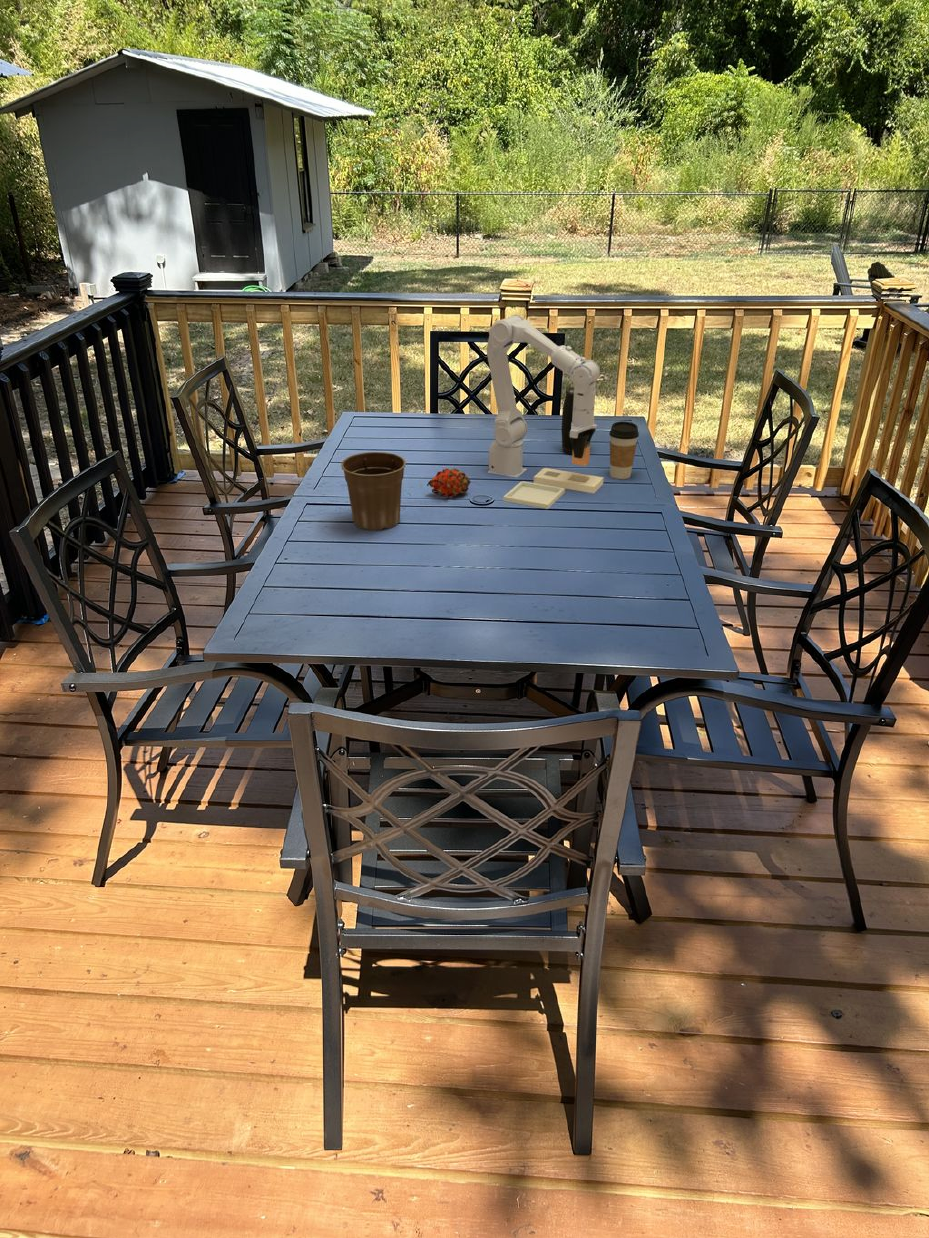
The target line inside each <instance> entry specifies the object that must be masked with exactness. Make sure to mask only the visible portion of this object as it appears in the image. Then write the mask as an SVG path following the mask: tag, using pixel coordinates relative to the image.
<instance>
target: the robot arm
mask: <svg viewBox="0 0 929 1238" xmlns="http://www.w3.org/2000/svg"><path fill="white" fill-rule="evenodd" d="M488 334H489V336H488V340H487V345H486V355H487V362H488V366H489V371H490V376H491V382H492V387H493V393H494V398H495V403H496V404H495V405H496V407H497V408H496V409H497V414H496V416H495V419H494V427H495V428H494V431H493V436H494V437H493V438H494V440H493V441H492V442H491V444H490V446H489V450H488V471H487V473H488V474H489V473H490V474H495V475H500V476H501V475H502V476H506V477H512V478H519V477H520V475H522V474H523V473H524V472H526V471H527V470H528V469H527V468H526V467H523V459H524V458H523V453H524V437H525V436H526V435H527V433H528V430H529V429H528V424H527V422H526V420H525V419H524V416H523V412H522V411H521V410H520V409H518V408H517V402H516V401H517V400H516V397H515V391H514V386H513V385H514V384H513V379H512V375H511V369H510V363H509V358H508V352H509V351H510V349H511V347H512V346H513V344H517V343H527V344H529V345H530V346H532V347H534V348H535V349H537V350H539V351H540V352H541V353H543V354H544V355H546V356H548V357H550V362H551V364H552V365H553V366H555V367H556V368H557V369H559V370H560V371H562V372H564V373H565V374H566V375H568V376H569V377H570V380H571V382H572V383H573V385H574V387H573V388H574V401H573V416H572V423H571V430H570V432H569V433H568V437H569V439H570V441H571V443H572V447H573V453H574V457H575V458H582V457H583V453H584V448H585V444H586V441H588V442H590V443H591V441H592V438H593V435H594V434H595V432H596V428H597V427H598V424H596V423H595V416H594V415H595V402H596V401H595V400H596V387H597V380H598V379H599V378H600V375H601V369H600V366H599V365H598V363H596V361H595V360H593V359H586V357H584V356H580V355H579V354H577V353H576V352H575V351H574V350H572V349H573V348H572V347H571V346H570V345H567V346H566V345H565V344H564V345H557V343H554V341H552V340H551V339H550V338H548V337H547V336H546V335H545V334H543V333H542V332H541V331H539V330H538V329H537V328H536V327H535V326H533V325H532V323H531V322H530V320H528V319H524V317H523V316H521V315H520V314H512V315H510V316H508V317H506V318H503V319H499V320H496V321H495V322H494V323H493V324H492V325H491V327H490V328H489V329H488ZM573 453H572V454H573Z"/></svg>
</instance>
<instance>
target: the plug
mask: <svg viewBox="0 0 929 1238" xmlns="http://www.w3.org/2000/svg"><path fill="white" fill-rule="evenodd" d="M590 453H591V441H590V442H588V441H586V444H585V448H584V453H583V457H582V458H575V457H574V453H572V454H571V455H572V458H571V464H572V465H577V466H584V467H587V465H588V464H589V463H590V456H591V454H590Z"/></svg>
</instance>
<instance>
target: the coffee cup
mask: <svg viewBox="0 0 929 1238" xmlns="http://www.w3.org/2000/svg"><path fill="white" fill-rule="evenodd" d="M608 435H609V436H610V440H609V476H610V477H611V478H612V479H613V478H614V479H616V480H627V479H630V477H631V474H632V469H633V465H634V459H635V455H636V449H637V444H638V442H637V441H638V438H639V436H640V433H639V427H638V426H637V425H636V424H635V423H633V422H631V421H624V420H623V421H617V422H614V423H612V424H611V429H610V431H609V433H608Z"/></svg>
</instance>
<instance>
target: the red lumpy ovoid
mask: <svg viewBox="0 0 929 1238" xmlns="http://www.w3.org/2000/svg"><path fill="white" fill-rule="evenodd" d="M436 473H437V474H436V475H435V476H434V477H432V479H430V480H429V481H428V482H427V484H426V486H427V487H430V488H432V489H431V492H432V493H433V494H435V495H440V496H442V497H444V496H446V498H447V499H450V498H452V497H457V496H458V497H459V496H460V494H465V493H466V492H468V490H469V487H470V485H471V480H470V478H469V476H467V475H466V474H465V472H463V471H460V470H459V469H458V468H456V467H453V468H452V469H449V468H443V469H442V470H441V471H437V472H436Z"/></svg>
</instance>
